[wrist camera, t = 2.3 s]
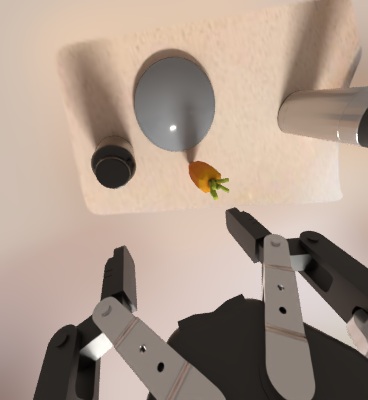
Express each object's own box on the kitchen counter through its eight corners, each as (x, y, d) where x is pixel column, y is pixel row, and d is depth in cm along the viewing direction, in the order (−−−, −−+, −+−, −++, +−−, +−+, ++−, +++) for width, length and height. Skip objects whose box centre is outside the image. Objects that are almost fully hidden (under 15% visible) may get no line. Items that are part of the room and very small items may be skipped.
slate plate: (208, 50, 31) (210, 49, 31) (216, 139, 40) (218, 140, 39) (120, 68, 29) (120, 67, 28) (149, 159, 37) (150, 160, 37)
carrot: (196, 149, 40) (230, 171, 27) (203, 167, 42) (237, 194, 30) (177, 161, 39) (202, 187, 27) (186, 178, 42) (213, 209, 30)
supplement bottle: (93, 136, 32) (80, 150, 22) (131, 134, 34) (134, 147, 24) (101, 171, 36) (93, 197, 26) (135, 168, 37) (140, 192, 27)
